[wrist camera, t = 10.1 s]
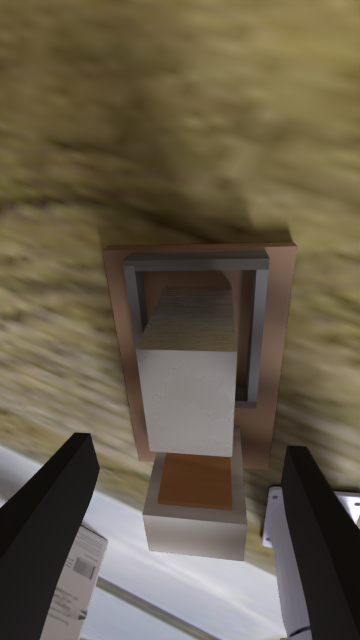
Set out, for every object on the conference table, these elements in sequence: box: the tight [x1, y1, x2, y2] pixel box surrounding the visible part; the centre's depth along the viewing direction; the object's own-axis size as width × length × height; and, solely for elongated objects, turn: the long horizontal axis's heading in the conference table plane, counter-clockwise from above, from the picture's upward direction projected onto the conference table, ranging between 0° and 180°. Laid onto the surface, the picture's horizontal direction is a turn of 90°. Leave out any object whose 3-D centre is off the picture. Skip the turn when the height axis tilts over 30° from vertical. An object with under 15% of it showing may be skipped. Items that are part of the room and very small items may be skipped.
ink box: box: [40, 526, 108, 640], centre depth 30 cm, size 9×5×12 cm, turn 49°
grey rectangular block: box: [136, 286, 237, 457], centre depth 16 cm, size 4×6×7 cm, turn 3°
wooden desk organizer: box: [103, 242, 297, 561], centre depth 18 cm, size 19×11×8 cm, turn 3°
